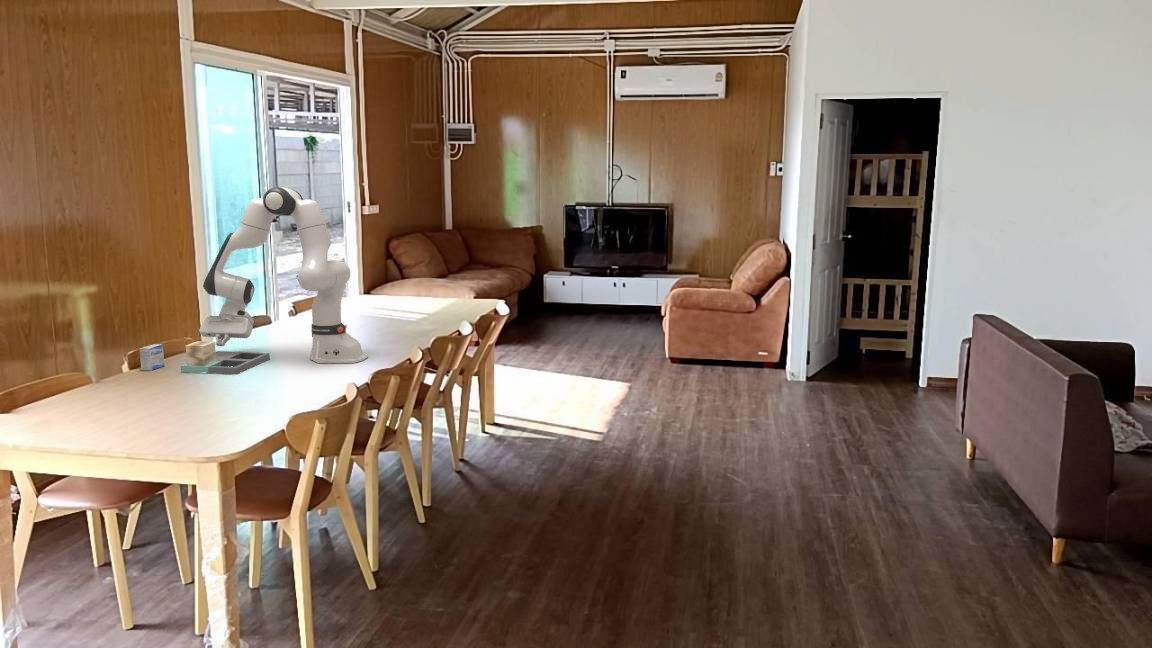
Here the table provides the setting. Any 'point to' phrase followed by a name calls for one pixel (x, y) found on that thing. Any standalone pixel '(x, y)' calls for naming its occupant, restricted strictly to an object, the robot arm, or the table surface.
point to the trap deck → (229, 362)
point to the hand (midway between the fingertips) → (219, 345)
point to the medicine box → (152, 357)
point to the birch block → (200, 353)
